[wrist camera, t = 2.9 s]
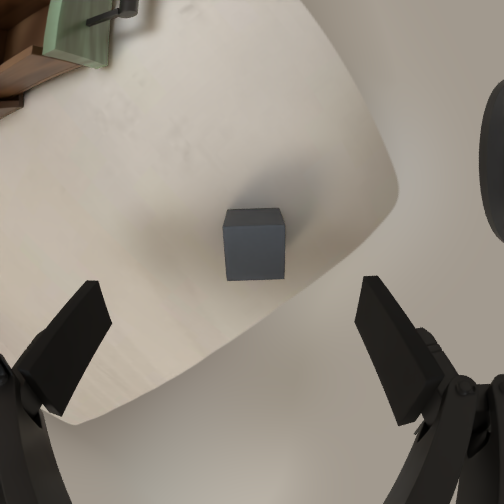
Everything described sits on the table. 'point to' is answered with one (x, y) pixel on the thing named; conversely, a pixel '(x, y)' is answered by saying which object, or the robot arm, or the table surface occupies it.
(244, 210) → the block
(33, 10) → the drawer
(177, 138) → the table surface
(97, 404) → the table surface
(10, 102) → the cabinet
